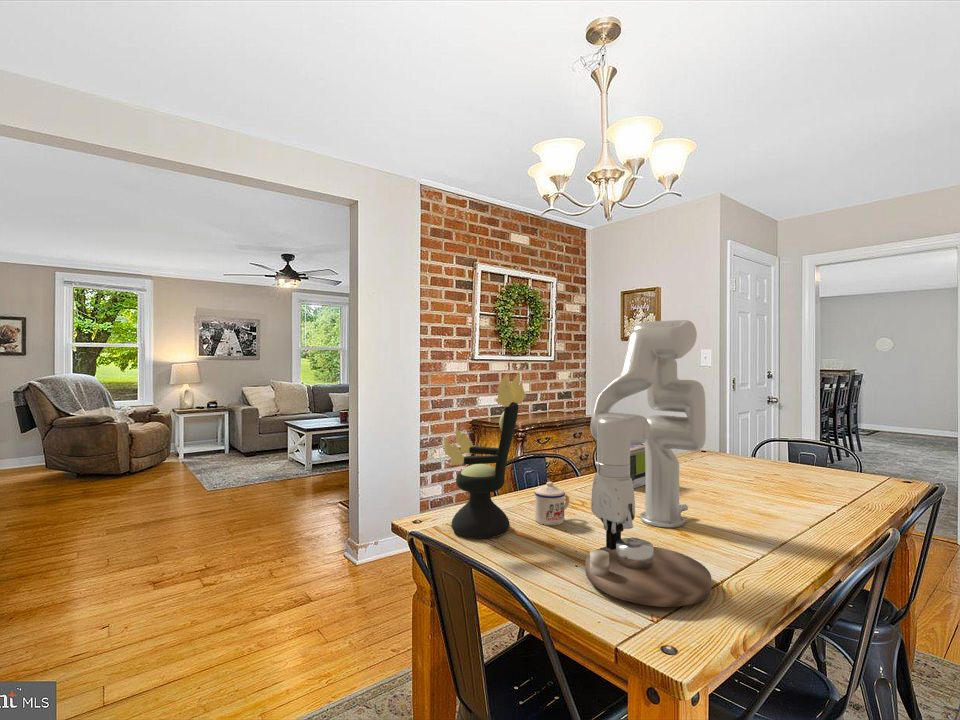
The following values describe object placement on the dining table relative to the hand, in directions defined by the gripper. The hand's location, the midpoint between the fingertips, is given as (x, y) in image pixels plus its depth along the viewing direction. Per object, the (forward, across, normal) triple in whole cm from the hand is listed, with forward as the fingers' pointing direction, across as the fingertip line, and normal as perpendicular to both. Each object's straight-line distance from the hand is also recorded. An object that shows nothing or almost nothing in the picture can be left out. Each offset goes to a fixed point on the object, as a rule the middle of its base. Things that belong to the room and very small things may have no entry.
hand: (613, 547), depth 115 cm
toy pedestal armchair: (+5, -37, -12) cm, 39 cm away
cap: (+1, +6, 0) cm, 6 cm away
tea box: (+4, -49, +60) cm, 77 cm away
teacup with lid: (+5, -33, +9) cm, 34 cm away
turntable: (+3, +9, 0) cm, 10 cm away
